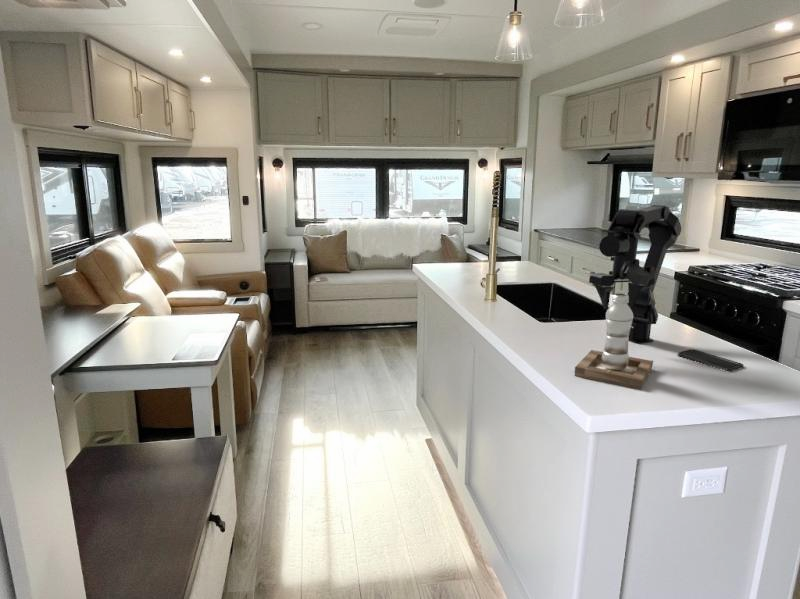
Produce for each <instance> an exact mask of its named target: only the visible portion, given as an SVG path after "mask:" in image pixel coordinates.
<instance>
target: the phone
mask: <svg viewBox="0 0 800 599" xmlns="http://www.w3.org/2000/svg"><path fill="white" fill-rule="evenodd" d="M677 357H679V358H681V357H682V359H685V358H686V359H685V360H688V359H689V361H691V360H692V361H691V362H694V361H696V362H695V363H697V362H699V363H698V364H700V363H702V364H701V365H703V364H706V365H705V366H707V365H708V366H707V367H710V366H712V367H711V368H713V367H715V368H714V369H716V368H718V369H717V370H719V369H722V370H725V371H724V372H726V371H732V372H734V371H733V370H735V371H737V370H736V369H738V370H740V369H739V368H741V369H743V368H744V364H743V363H741V362H738V361H735V360H731V359H728V358H726V357H725V358H724V357H722V356H721V357H720V356H718V355H714V354H712V353H707V352H704V351H700V350H698V349H695V348H692V349H687V350H683V351H678V352H677ZM742 367H743V368H742ZM722 370H721V371H722Z"/></svg>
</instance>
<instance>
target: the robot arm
mask: <svg viewBox="0 0 800 599" xmlns="http://www.w3.org/2000/svg"><path fill="white" fill-rule="evenodd" d="M646 227H647V229H648V238H649V241H650V246H649V249H648V253H647V254H646V255H647V256H646V259H645V262H644V265H643V267H642V266H640V259H638V258H637V254H638V246H639V239H641V237H642V236H641V234H640V233H641V232H642V230H644V229H645V228H646ZM681 232H682V225H681V222H680V220H679V218H678V216H676V214H674V213H673V212H672V211H671V210H670V207H669V206H667V205H658V204H657V205H656V204H653V205H650V206H648V207H644V208H639V209H623V208H620V209H618V210H617V212H616V213H615V214H614V217H613V218H612V220H611V223H610V224H609V228H608V229H607V235H606V236H604V237H603V238H602V239H601V240H600V242H599V246H598V247H599V251H600V253H601V254H602V255H603V256H605V257H607V258H609V257H610V261H613V263H612V270H609V271H608V274H607V273H604V272H596V273H595V272H593V273H591V274H590V275H589V280H588V283H590V284H592V286H593V287H595V289H596V291H597V294H598V296H599V299H600V302H601V304H602V307H603V309H604V310H608V309H609V304H610V298H611V292H613V290H614V288H615V287H614V286H613V285H614V284H615V283H628V284H627V286H628V287H627V288H628V292H627V293H626V294H627V295H629V303H627V305H628V306H629V307H630V309H631V311H632V312H633V320H632V324H631V328H630V333H629V339H628V341H630V342H633V343H635V344H643V343H649V342H654V339H653V338H651V330H652V329H651V328H652V325H656V324H657V323H658V320H659V314H658V311H657V309H656V300H655V297H654V290H655V287H656V285H657V282H658V278H659V275H660V272H661V269H662V266H663V263H664V259H665V257H666V254H667V251H668V249H670V248H671V247H672V246H673V245H674V244H676V242H677V240H678V237H679V236H680V235H681Z"/></svg>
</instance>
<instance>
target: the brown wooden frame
mask: <svg viewBox="0 0 800 599" xmlns="http://www.w3.org/2000/svg"><path fill="white" fill-rule="evenodd" d="M602 354H603V351H599V350H595V349H591V350H590V351H589V352H588V353H587V354H586V355H585V356H584V357H583V358H582V359H581V361H579V363H578V364H577V365H575V367H574V377H579V378H584V379H588V380H594V381H599V382H603V383H608V384H613V385H618V386H623V387H627V388H632V389H635V390H636V389H638V390H642V388H643V386H644V384H645V382H646V381H647V379H648V378H649V376H650V374H651V373H652V371H653V365H654V360H650V359H644V358H638V357H632V356H629V363H628V366H627V367H626V368H625V369H624V370H610V369H607V368H605V367H604V366H603V364H602Z"/></svg>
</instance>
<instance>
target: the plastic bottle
mask: <svg viewBox="0 0 800 599" xmlns="http://www.w3.org/2000/svg"><path fill="white" fill-rule="evenodd" d="M627 294H628V293H619V292H618V293H613V295H612V300H611V302H612V304H611V305H610V306H608V309H606V312H605V324H606V326H605V327H606V329H605V330H606V331H605V332H606V335H605V341H604V346H603V347H604V348H603V351H602V352H603V354H602V364H603V366H604V367H605V368H607V369H610V370H624V369H625V368H626V367H627V366H628V363H629V357H630V355H629V340H628V339H629V333H630V328H631V324H632V320H633V312H632V311H631V309H630V307H629V306H628V305H627V303H629V295H627Z"/></svg>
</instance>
